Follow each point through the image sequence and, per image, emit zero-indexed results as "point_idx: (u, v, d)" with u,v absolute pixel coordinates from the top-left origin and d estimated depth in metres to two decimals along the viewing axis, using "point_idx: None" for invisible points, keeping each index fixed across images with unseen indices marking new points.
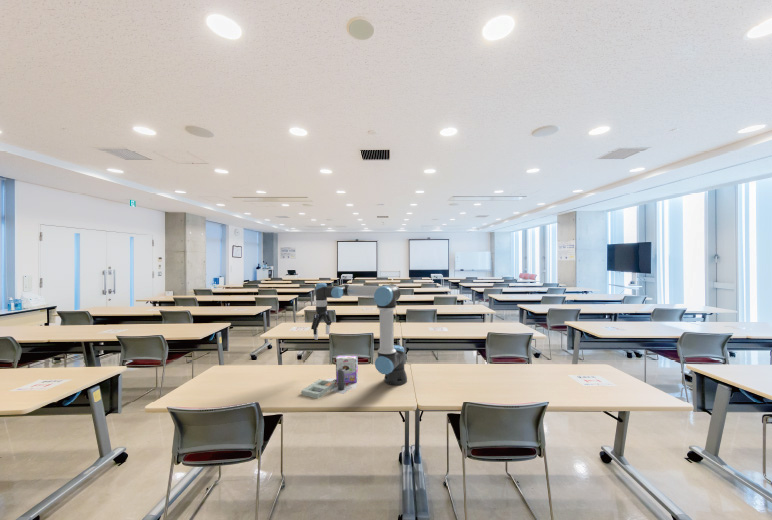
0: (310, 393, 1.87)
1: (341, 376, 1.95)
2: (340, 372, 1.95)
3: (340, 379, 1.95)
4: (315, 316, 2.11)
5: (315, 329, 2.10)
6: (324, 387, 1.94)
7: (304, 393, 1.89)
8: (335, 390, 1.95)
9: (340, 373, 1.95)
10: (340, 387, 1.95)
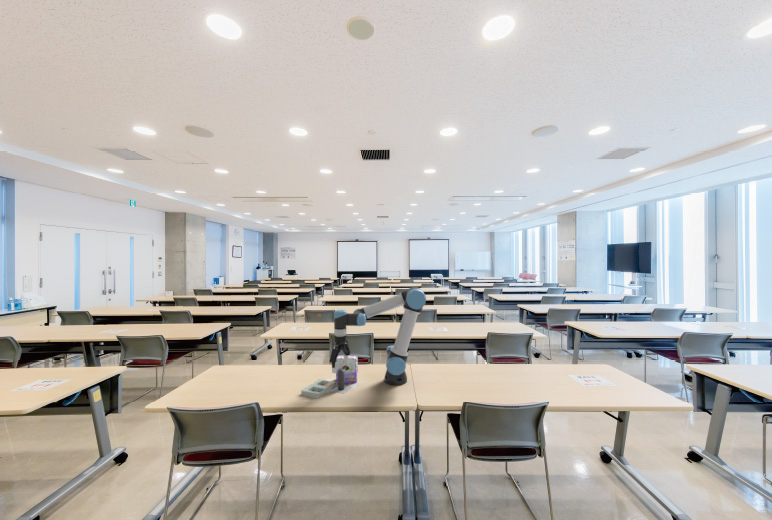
0: (310, 393, 1.87)
1: (341, 376, 1.95)
2: (340, 372, 1.95)
3: (340, 379, 1.95)
4: (334, 347, 1.90)
5: (334, 362, 1.89)
6: (324, 387, 1.94)
7: (304, 393, 1.89)
8: (335, 390, 1.95)
9: (340, 373, 1.95)
10: (340, 387, 1.95)
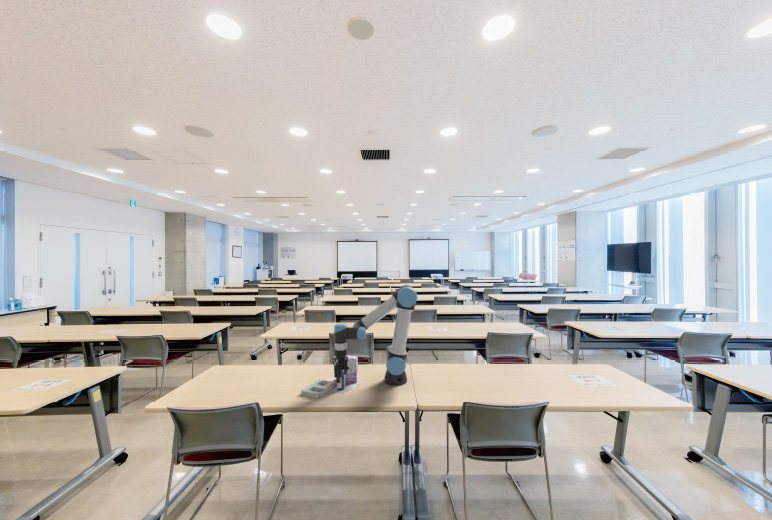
0: (310, 393, 1.87)
1: (341, 376, 1.95)
2: None
3: None
4: (335, 364, 1.91)
5: (339, 377, 1.94)
6: (324, 387, 1.94)
7: (304, 393, 1.89)
8: (335, 390, 1.95)
9: None
10: None
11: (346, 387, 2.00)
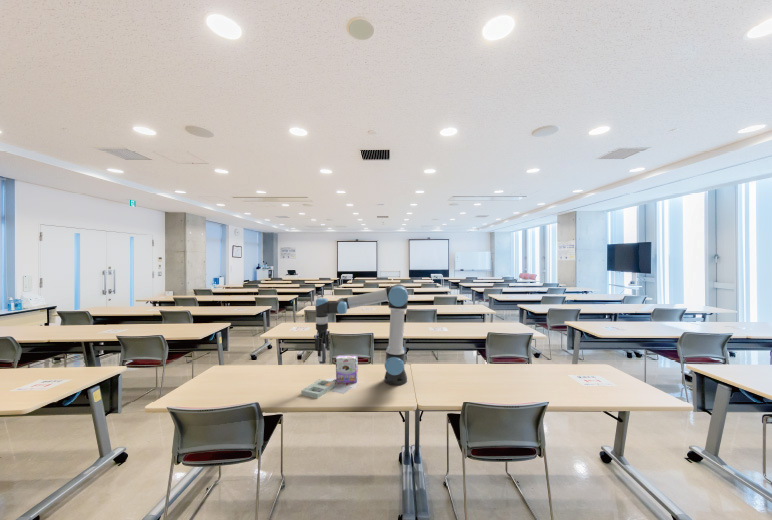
0: (310, 393, 1.87)
1: (322, 350, 1.98)
2: None
3: None
4: (316, 337, 1.94)
5: (319, 351, 1.96)
6: (324, 387, 1.94)
7: (304, 393, 1.89)
8: (335, 390, 1.95)
9: None
10: None
11: (346, 387, 2.00)
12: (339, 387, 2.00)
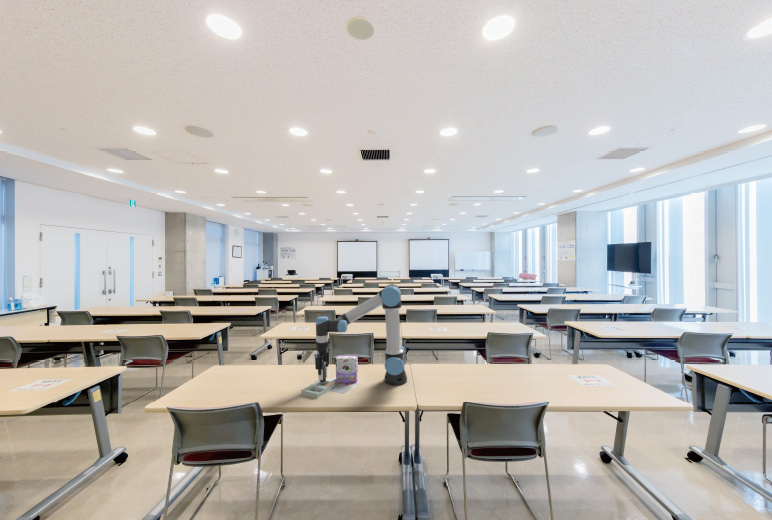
0: (310, 393, 1.87)
1: (322, 368, 1.98)
2: None
3: None
4: (316, 356, 1.94)
5: (320, 369, 1.96)
6: (324, 387, 1.94)
7: (304, 393, 1.89)
8: (335, 390, 1.95)
9: None
10: None
11: (346, 387, 2.00)
12: (339, 387, 2.00)
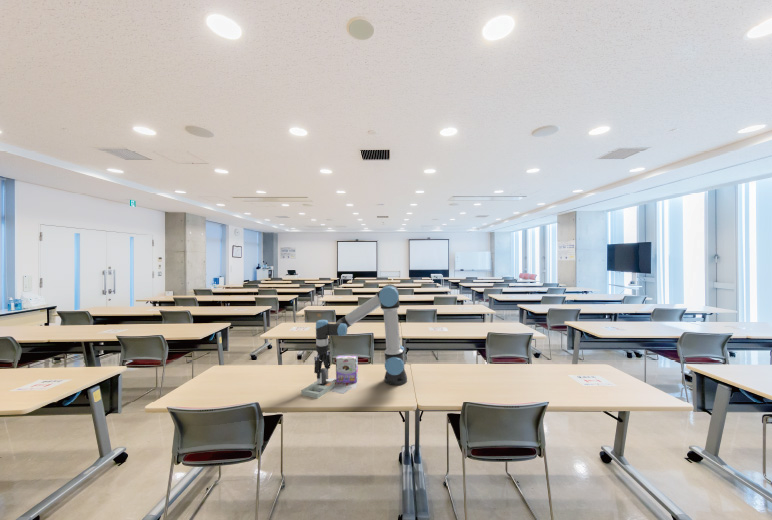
0: (310, 393, 1.87)
1: (323, 375, 1.98)
2: (322, 371, 1.98)
3: (322, 378, 1.98)
4: (316, 359, 1.94)
5: (319, 373, 1.95)
6: (324, 387, 1.94)
7: (304, 393, 1.89)
8: (335, 390, 1.95)
9: (322, 372, 1.98)
10: None
11: (346, 387, 2.00)
12: (339, 387, 2.00)
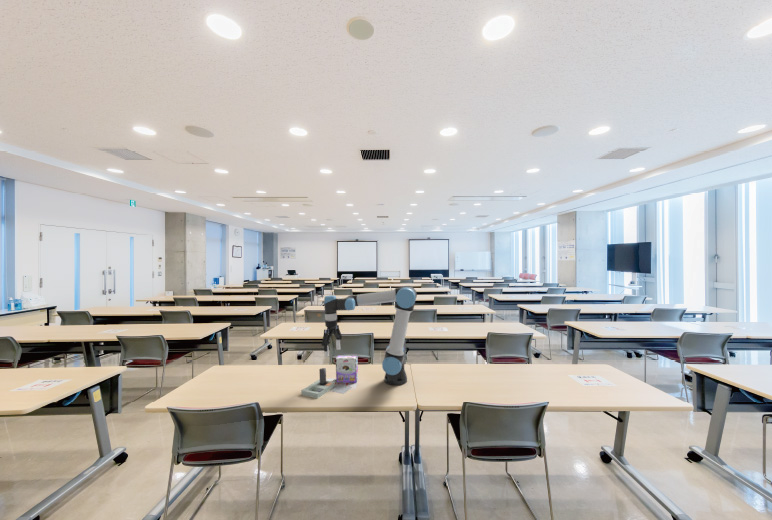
0: (310, 393, 1.87)
1: (323, 375, 1.98)
2: (322, 371, 1.98)
3: (322, 378, 1.98)
4: (325, 331, 1.96)
5: (326, 345, 1.95)
6: (324, 387, 1.94)
7: (304, 393, 1.89)
8: (335, 390, 1.95)
9: (322, 372, 1.98)
10: None
11: (346, 387, 2.00)
12: (339, 387, 2.00)
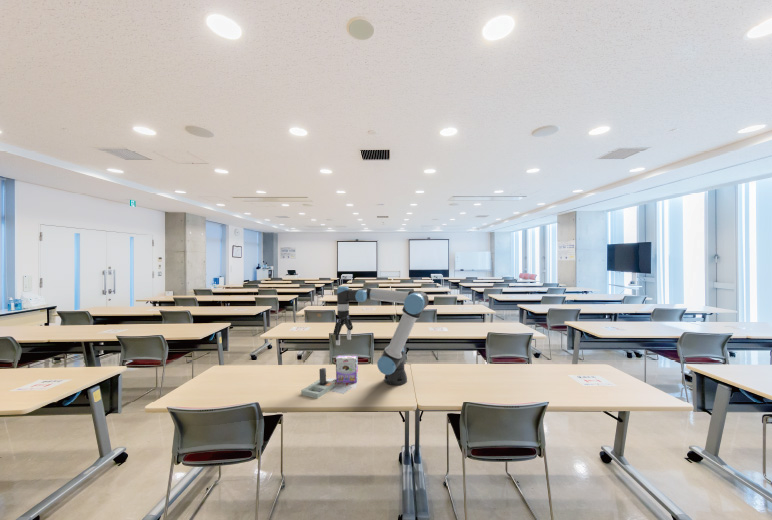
0: (310, 393, 1.87)
1: (323, 375, 1.98)
2: (322, 371, 1.98)
3: (322, 378, 1.98)
4: (337, 321, 2.01)
5: (337, 335, 2.00)
6: (324, 387, 1.94)
7: (304, 393, 1.89)
8: (335, 390, 1.95)
9: (322, 372, 1.98)
10: None
11: (346, 387, 2.00)
12: (339, 387, 2.00)
